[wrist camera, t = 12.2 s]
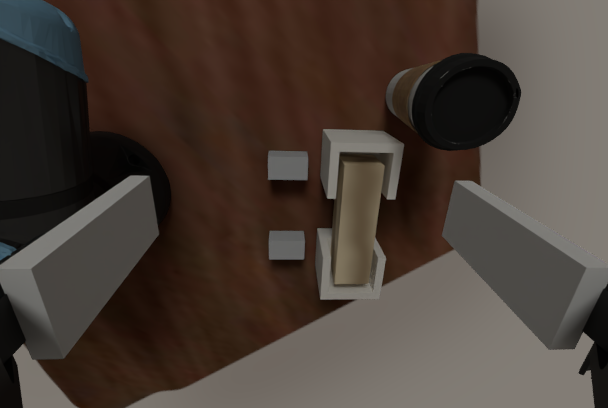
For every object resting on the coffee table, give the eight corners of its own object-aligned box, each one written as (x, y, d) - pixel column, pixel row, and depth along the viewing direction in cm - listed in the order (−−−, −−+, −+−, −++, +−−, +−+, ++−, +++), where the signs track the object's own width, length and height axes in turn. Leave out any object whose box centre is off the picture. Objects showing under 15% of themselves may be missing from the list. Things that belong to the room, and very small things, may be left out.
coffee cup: (445, 116, 41) (526, 139, 27) (382, 136, 42) (430, 169, 28) (436, 47, 38) (523, 35, 24) (368, 70, 38) (415, 71, 25)
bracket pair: (315, 265, 49) (320, 299, 42) (322, 129, 41) (331, 142, 34) (365, 265, 50) (379, 299, 42) (383, 130, 41) (404, 144, 34)
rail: (329, 262, 46) (334, 284, 41) (337, 154, 39) (344, 165, 35) (360, 262, 46) (368, 283, 41) (373, 154, 40) (384, 165, 35)
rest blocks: (269, 248, 48) (269, 259, 45) (269, 150, 42) (267, 156, 39) (303, 248, 48) (304, 259, 45) (306, 151, 42) (308, 157, 39)
